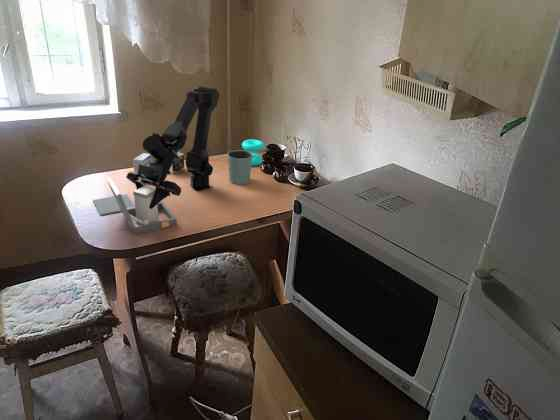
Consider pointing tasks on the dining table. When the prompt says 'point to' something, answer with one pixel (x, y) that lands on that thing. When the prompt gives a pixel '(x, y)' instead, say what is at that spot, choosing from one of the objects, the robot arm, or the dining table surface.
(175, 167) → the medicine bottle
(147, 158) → the medicine box
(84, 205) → the dining table surface
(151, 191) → the block
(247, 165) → the grey teal cup
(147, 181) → the robot arm
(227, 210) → the dining table surface
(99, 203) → the slate mat
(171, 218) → the equipment case
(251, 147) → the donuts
